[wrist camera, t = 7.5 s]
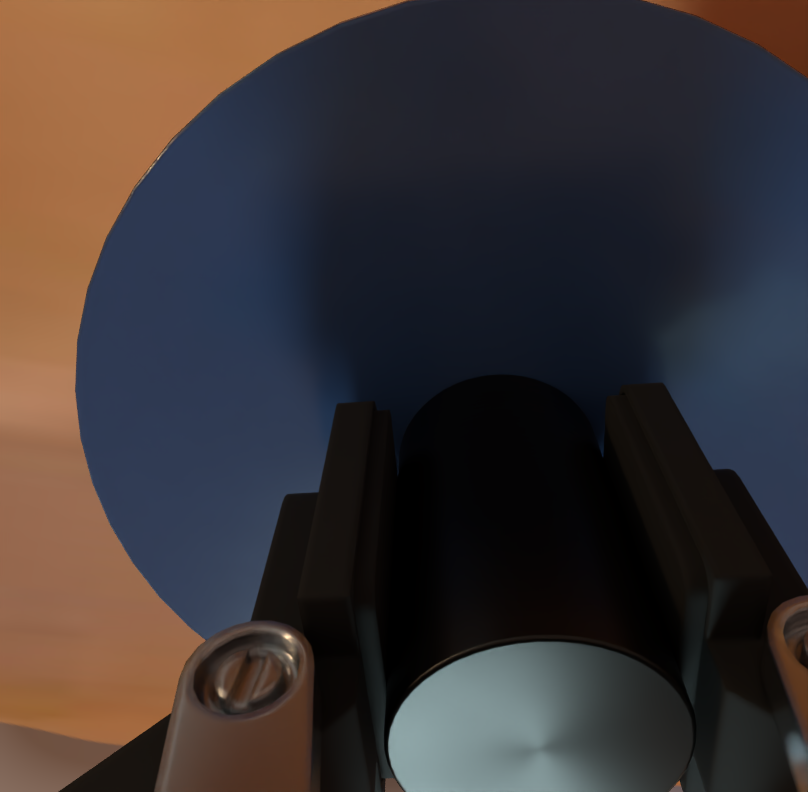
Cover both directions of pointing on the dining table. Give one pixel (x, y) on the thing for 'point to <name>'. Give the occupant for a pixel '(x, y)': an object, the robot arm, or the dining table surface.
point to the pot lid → (466, 350)
